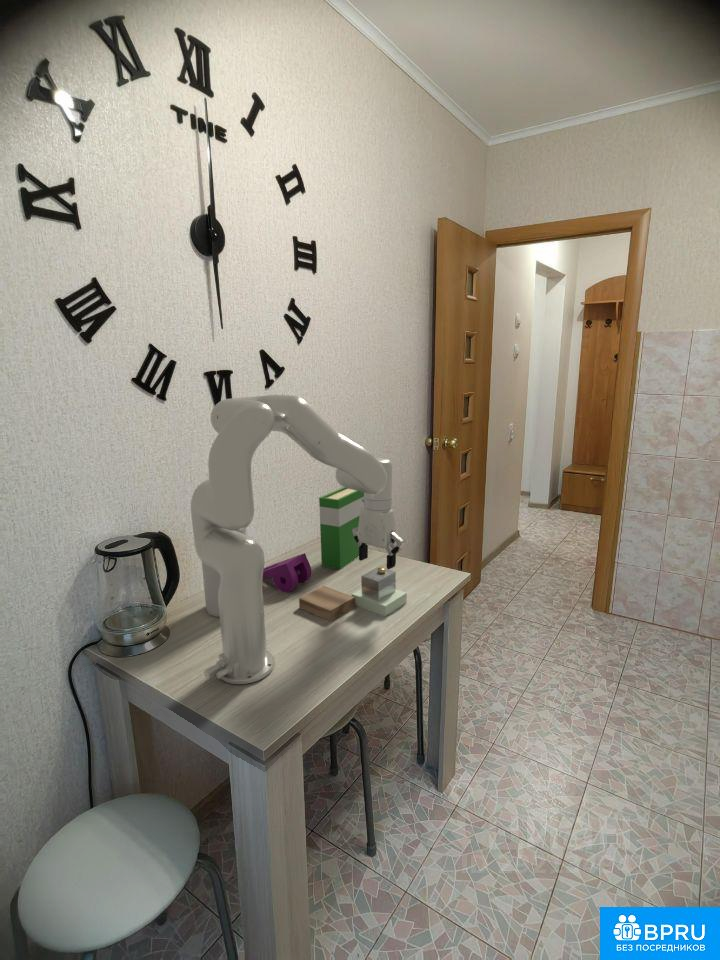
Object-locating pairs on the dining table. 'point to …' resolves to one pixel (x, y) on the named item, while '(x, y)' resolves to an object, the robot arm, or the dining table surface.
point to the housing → (378, 583)
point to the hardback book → (339, 526)
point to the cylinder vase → (213, 586)
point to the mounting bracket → (289, 572)
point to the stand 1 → (327, 603)
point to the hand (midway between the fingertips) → (376, 563)
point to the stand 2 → (381, 602)
